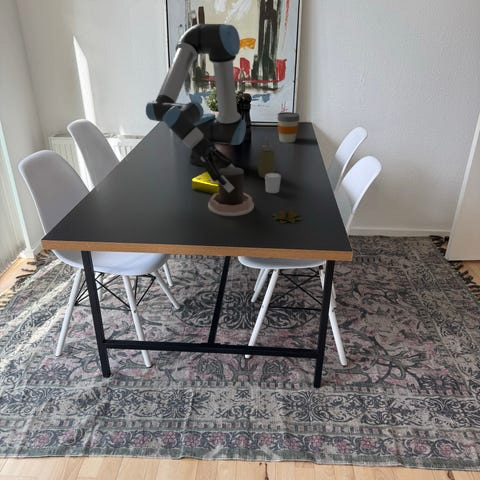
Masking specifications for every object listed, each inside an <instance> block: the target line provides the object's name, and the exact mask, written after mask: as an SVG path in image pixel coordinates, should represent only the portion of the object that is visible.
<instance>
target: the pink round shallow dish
mask: <svg viewBox="0 0 480 480" xmlns="http://www.w3.org/2000/svg"><path fill="white" fill-rule="evenodd" d="M218 198H219V193H215V194H212V196H211V197H210V198H209V202H208V204H207V208H208V211H210V212H211V213H213V214H216V215H219V216H224V217H238V216H244V215H247V214H249V213H251V212H253V210H254V207H255V204H254V202H253V196H250V195H249V194H248V193H246V192H244V191H243V203H242V204H238V205H224V204H219V203H218V200H219V199H218Z"/></svg>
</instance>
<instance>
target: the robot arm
mask: <svg viewBox="0 0 480 480" xmlns="http://www.w3.org/2000/svg"><path fill="white" fill-rule="evenodd" d="M240 40H241V39H240V34H239V32H238V29H237V28H236V27H235V26H234V25H232V24H226V23H197V24H194V25H192V26H191V27H189V28H188V29H187V30H186V31H184V32H183V34H182V35H181V37H180V38H179V39H178V40H177V43H176V45H175V54H174V57H173V59H172V61H171V64H170V66H169V69H168V71H167V73H166V76H165V78H164V80H163V83H162V85H161V88H160V89H159V92H158V94H157V97H156V99H155V100H149V102H147V103H146V106H145V114H146V117H147V119H149V120H150V121H154V122H155V121H156V122H163V123H165V124H166V126H167V127H168V129H170V130H171V131H172V132H173V133H174V134H175V135H176V136H177V137H178V138H179V139H180V141H182V143H183V144H184V146H186V147H187V148H188V149H190V153H189V154H190V155H189V157H188V159H189V161H188V162H189V163H190V164H191V165H194V166H200V167H204V169H205V170H206V172H208V174H209V175H210V177H211V178H212V180H213V181H216V180H217V181H218V182H219V183H220V184H221V185H222V186H223V187H224V188H225V189H226V190H227V191H228V192H231V191H232V190H233V189H234V187H233V186H232V185H231V184H230V183H229V181H228V180H227V179H226V178H225V177H224V176H223V175H222V176H221V174H220V172H219V170H220V169H219V168H218V166H217V164H220V165H222V166H224V167H225V168H226V167H235V166H234V165H233V160H232V159H231V158H230V157H228V155H226V154H224V153H223V152H222V151H220V150H219V149H218V147H217V143H218V144H227V145H234V146H235V145H236V146H237V145H241V143H243V141H244V138H245V135H246V129H247V123H246V121H245V120H244V119H242V116H241V114H240V113H239V112H238V106H237V95H236V94H237V93H236V85H235V84H236V83H235V73H234V71H235V70H234V61H235V60H236V59H237V55H238V54H239V52H240V48H241V47H240V46H241V42H240ZM202 54H204V55H208V61H209V62H210V63H212V65H213V66H212V67H213V73H214V82H215V83H214V84H215V93H216V100H217V107H218V108H217V109H218V110H217V111H218V114H217V115H216V114H215V113H205V111H204V107H203V106H202V104H201V103H200V102H198V101H195V100H194V101H193V100H192V101H190V102H188V103H179V102H177V100H178V98H179V95H180V93H181V91H182V88H183V86H184V83H185V81H186V79H187V77H188V73H189V71H190V69H191V66H192V64H193V61H195V60H197V58H198V56H199V55H202Z"/></svg>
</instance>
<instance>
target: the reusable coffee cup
mask: <svg viewBox="0 0 480 480" xmlns="http://www.w3.org/2000/svg"><path fill="white" fill-rule="evenodd" d="M299 121H300V113H296V112H291V111H290V112H287V111H286V112H285V111H284V112H279V113H277V132H278V137H279V141H280V142H281V143H287V144H289V143H294V142H295V141H296V137H297V134H298V129H299V125H300V124H299Z"/></svg>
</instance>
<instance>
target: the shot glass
mask: <svg viewBox="0 0 480 480" xmlns="http://www.w3.org/2000/svg"><path fill="white" fill-rule="evenodd" d="M281 178H282V174H280V173H276V172H274V173H268V174H265V178H264V180H265V181H264V183H265V192H266V193H269V194H276V193H279V192H280V185H281Z"/></svg>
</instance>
